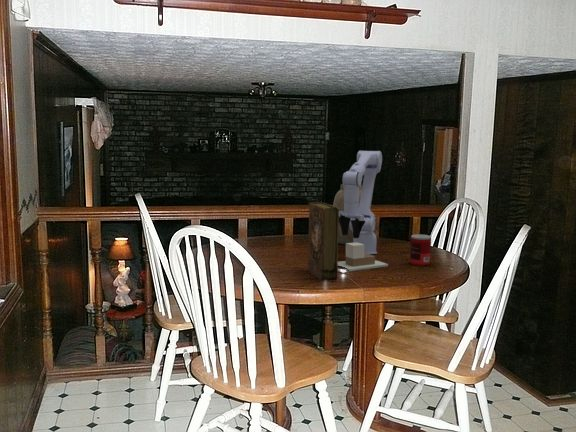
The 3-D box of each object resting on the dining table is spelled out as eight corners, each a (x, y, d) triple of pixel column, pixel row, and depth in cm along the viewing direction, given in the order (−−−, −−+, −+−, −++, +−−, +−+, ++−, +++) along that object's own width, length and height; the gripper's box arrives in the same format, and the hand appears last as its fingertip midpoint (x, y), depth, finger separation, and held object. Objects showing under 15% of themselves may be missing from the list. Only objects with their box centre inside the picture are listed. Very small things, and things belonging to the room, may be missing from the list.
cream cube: (356, 255, 212) (356, 242, 211) (364, 257, 207) (364, 244, 207) (345, 256, 209) (345, 243, 209) (353, 258, 205) (353, 245, 204)
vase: (332, 238, 268) (333, 182, 264) (368, 239, 266) (370, 183, 262) (330, 245, 251) (331, 186, 247) (368, 246, 249) (370, 186, 245)
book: (306, 269, 203) (308, 202, 200) (320, 269, 205) (322, 202, 201) (322, 281, 188) (323, 208, 184) (337, 280, 189) (339, 207, 186)
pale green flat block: (369, 260, 221) (369, 250, 220) (388, 266, 210) (388, 256, 210) (331, 264, 212) (331, 254, 212) (349, 271, 202) (349, 261, 201)
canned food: (430, 262, 218) (432, 235, 216) (429, 266, 210) (430, 238, 209) (411, 260, 220) (412, 233, 219) (408, 265, 213) (409, 237, 211)
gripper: (332, 200, 220) (331, 234, 222) (353, 204, 207) (352, 240, 209) (347, 199, 223) (346, 232, 225) (369, 203, 211) (367, 238, 212)
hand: (350, 236), depth 217 cm, fingers open, 7 cm apart
